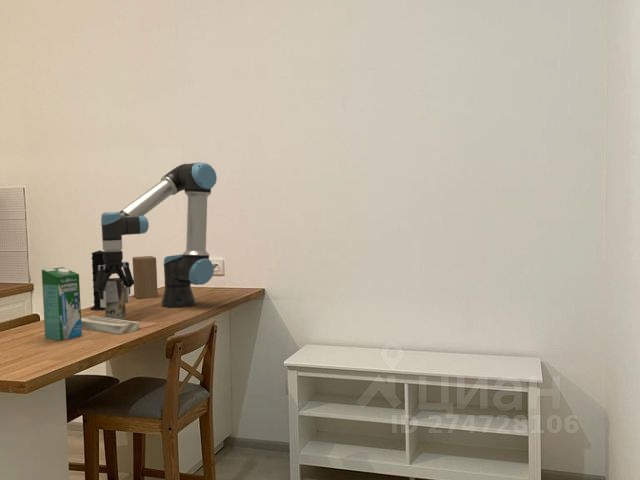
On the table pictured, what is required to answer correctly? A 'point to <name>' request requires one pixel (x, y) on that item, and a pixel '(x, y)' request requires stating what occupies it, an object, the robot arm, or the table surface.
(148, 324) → the end pad
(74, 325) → the milk carton
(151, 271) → the wooden block
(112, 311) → the coffee box
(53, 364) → the table surface
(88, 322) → the white flat block
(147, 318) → the table surface
